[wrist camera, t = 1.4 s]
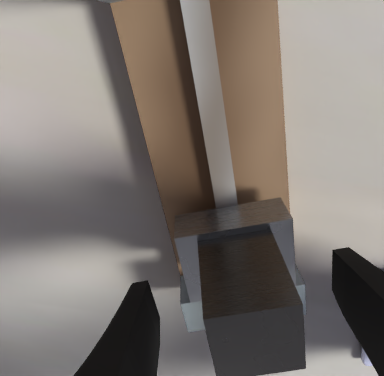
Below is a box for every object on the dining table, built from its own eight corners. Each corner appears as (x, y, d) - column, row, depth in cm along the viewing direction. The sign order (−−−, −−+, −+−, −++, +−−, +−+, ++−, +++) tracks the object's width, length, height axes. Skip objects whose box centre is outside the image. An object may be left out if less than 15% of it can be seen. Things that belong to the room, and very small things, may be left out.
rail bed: (255, -212, 11) (282, -297, 8) (287, 271, 20) (306, 314, 17) (72, -168, 11) (33, -234, 8) (187, 287, 20) (188, 332, 17)
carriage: (280, 197, 15) (333, 292, 10) (285, 260, 16) (332, 370, 11) (174, 215, 15) (171, 317, 10) (189, 275, 17) (193, 390, 12)
